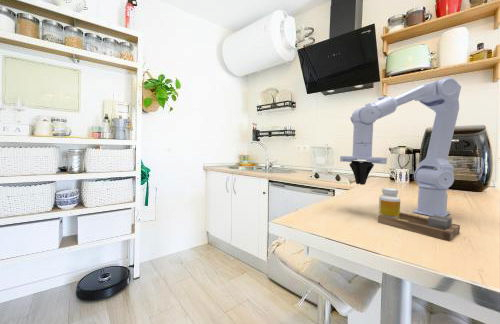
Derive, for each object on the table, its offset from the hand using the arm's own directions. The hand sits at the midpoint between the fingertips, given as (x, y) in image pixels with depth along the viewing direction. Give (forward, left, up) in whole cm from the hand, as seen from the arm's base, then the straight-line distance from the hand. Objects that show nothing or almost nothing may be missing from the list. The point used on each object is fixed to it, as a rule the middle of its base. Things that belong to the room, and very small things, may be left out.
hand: (360, 184), depth 73 cm
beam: (0, +16, -10) cm, 19 cm away
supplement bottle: (0, +9, -10) cm, 14 cm away
